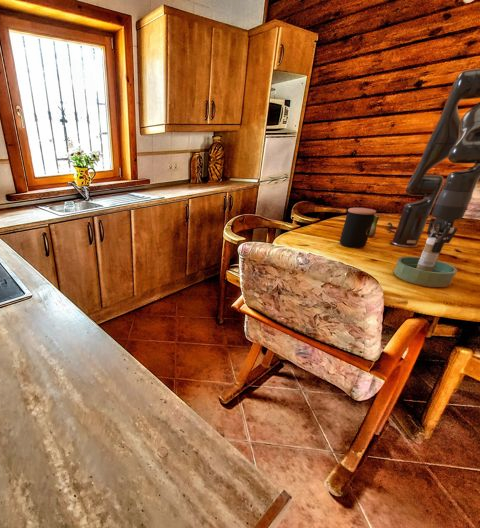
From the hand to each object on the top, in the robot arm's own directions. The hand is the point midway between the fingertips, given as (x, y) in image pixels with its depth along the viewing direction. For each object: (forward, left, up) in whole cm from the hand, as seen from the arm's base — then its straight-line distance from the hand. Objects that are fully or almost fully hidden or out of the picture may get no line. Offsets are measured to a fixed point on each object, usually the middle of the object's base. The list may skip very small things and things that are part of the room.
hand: (432, 249), depth 101 cm
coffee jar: (-34, -16, -12) cm, 39 cm away
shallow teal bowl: (0, 0, -12) cm, 12 cm away
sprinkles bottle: (0, 0, -10) cm, 10 cm away
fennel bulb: (-52, -6, -12) cm, 54 cm away
